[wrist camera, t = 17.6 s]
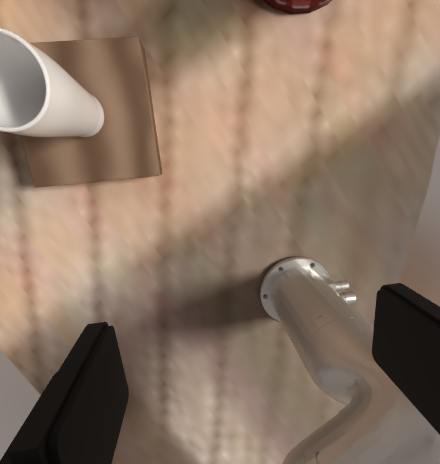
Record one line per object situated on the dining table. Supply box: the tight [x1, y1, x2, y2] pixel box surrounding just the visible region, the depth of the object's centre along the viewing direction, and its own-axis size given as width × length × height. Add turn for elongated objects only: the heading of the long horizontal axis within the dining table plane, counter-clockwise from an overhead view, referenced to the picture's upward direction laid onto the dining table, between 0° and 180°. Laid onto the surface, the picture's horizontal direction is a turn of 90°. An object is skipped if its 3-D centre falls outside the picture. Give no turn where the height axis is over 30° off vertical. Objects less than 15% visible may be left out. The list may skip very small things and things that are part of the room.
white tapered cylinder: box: [0, 28, 104, 137], centre depth 26 cm, size 7×7×15 cm
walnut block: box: [20, 37, 162, 187], centre depth 35 cm, size 16×16×4 cm
